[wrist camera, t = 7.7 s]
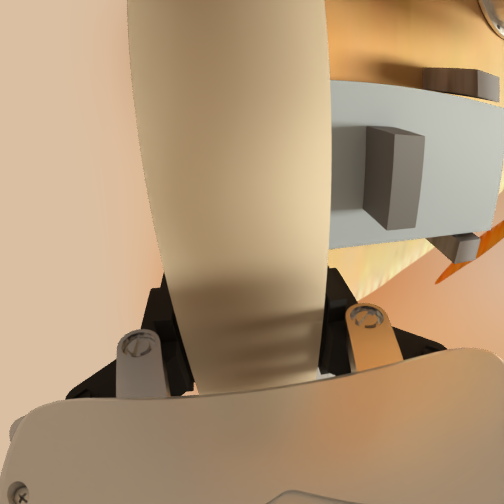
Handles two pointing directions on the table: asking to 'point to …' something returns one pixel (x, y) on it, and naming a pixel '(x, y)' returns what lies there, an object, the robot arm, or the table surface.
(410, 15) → the table surface
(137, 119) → the smooth beige tapered object
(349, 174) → the lid
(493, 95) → the brown wooden box
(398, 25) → the table surface
